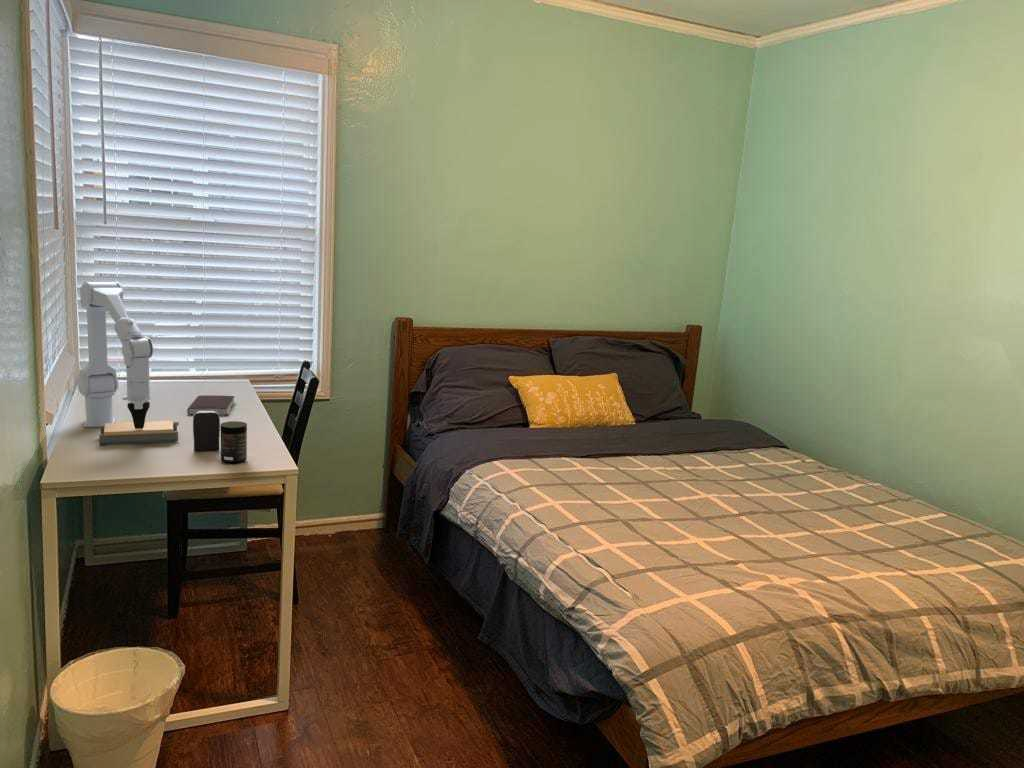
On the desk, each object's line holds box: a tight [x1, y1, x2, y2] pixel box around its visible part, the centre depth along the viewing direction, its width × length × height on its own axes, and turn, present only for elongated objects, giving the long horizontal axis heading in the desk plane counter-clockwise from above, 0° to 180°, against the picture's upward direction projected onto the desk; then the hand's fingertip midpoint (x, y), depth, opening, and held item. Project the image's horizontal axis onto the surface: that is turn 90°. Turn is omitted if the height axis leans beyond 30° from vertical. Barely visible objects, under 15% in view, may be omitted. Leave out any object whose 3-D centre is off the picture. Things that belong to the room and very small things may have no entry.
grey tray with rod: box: [97, 421, 180, 447], centre depth 221 cm, size 9×21×4 cm, turn 115°
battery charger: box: [192, 411, 221, 453], centre depth 215 cm, size 7×4×11 cm, turn 111°
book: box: [186, 394, 235, 416], centre depth 261 cm, size 12×19×3 cm, turn 12°
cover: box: [104, 420, 174, 436], centre depth 220 cm, size 9×18×1 cm, turn 115°
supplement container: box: [220, 420, 248, 466], centre depth 207 cm, size 7×7×10 cm
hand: (139, 428), depth 216 cm, fingers closed
